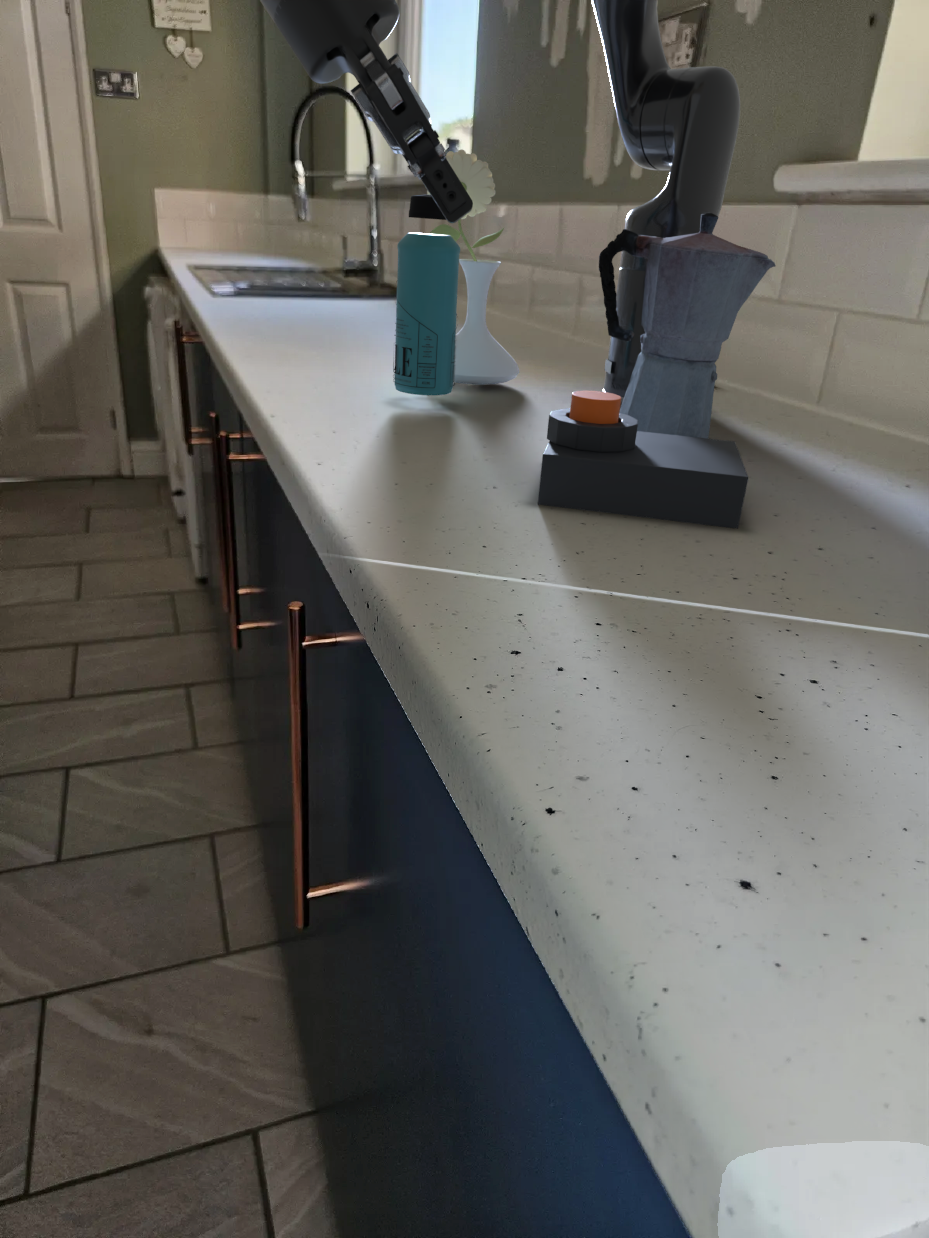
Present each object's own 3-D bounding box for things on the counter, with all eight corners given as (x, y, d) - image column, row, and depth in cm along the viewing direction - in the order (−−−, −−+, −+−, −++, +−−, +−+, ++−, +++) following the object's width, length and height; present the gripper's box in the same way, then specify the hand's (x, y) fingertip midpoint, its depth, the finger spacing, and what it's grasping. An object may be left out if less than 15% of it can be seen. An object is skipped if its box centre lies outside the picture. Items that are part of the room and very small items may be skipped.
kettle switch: (566, 425, 63) (570, 397, 62) (571, 415, 66) (574, 388, 66) (616, 430, 63) (620, 402, 62) (618, 420, 66) (622, 393, 65)
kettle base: (533, 504, 62) (541, 427, 60) (550, 466, 72) (557, 399, 70) (737, 529, 60) (754, 450, 58) (726, 486, 70) (739, 418, 68)
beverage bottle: (464, 405, 93) (478, 198, 85) (429, 413, 88) (440, 194, 80) (415, 395, 96) (423, 195, 88) (378, 403, 91) (383, 191, 83)
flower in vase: (529, 381, 109) (550, 157, 99) (501, 395, 100) (520, 148, 89) (434, 369, 113) (444, 152, 103) (397, 381, 103) (404, 143, 93)
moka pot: (742, 459, 79) (792, 217, 70) (573, 440, 81) (601, 204, 73) (734, 437, 87) (777, 218, 79) (581, 420, 90) (607, 206, 81)
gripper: (348, -98, 51) (510, 172, 56) (370, -22, 64) (501, 193, 69) (250, -12, 53) (416, 243, 58) (290, 45, 65) (424, 252, 70)
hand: (462, 216), depth 63 cm, fingers closed
